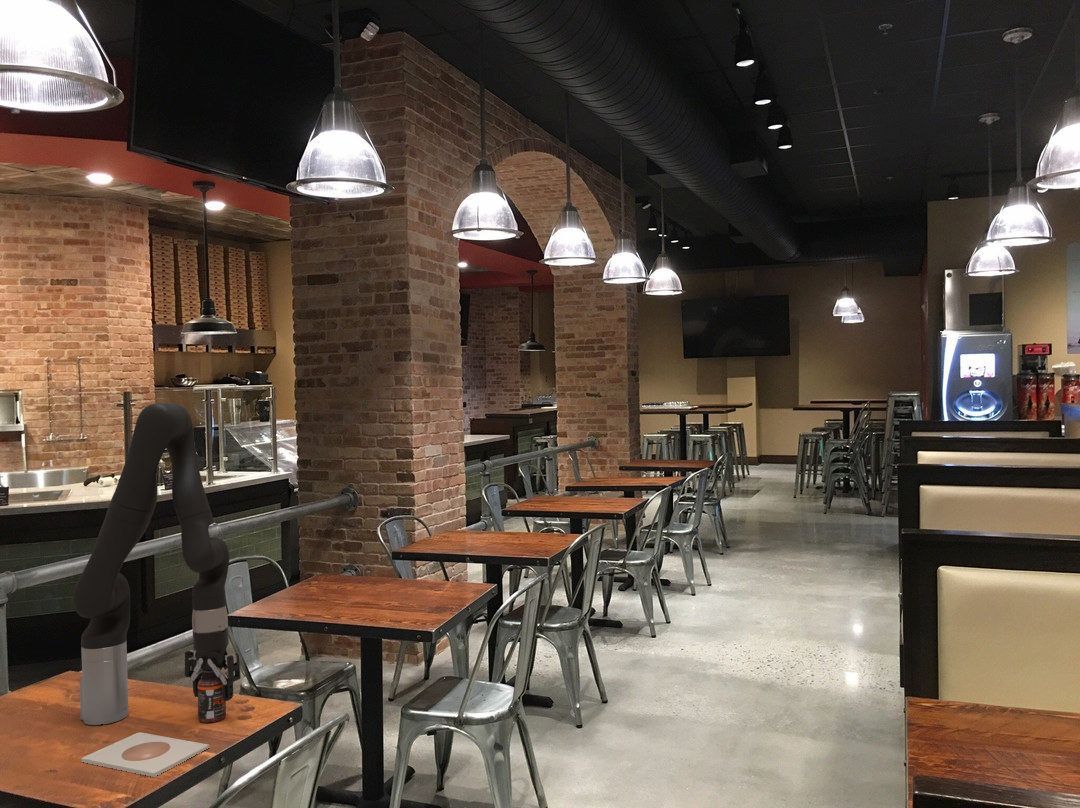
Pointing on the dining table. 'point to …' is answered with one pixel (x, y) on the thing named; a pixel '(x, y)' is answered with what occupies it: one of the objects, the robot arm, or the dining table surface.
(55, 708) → the dining table surface
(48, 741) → the dining table surface
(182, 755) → the board
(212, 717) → the supplement bottle
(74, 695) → the dining table surface
